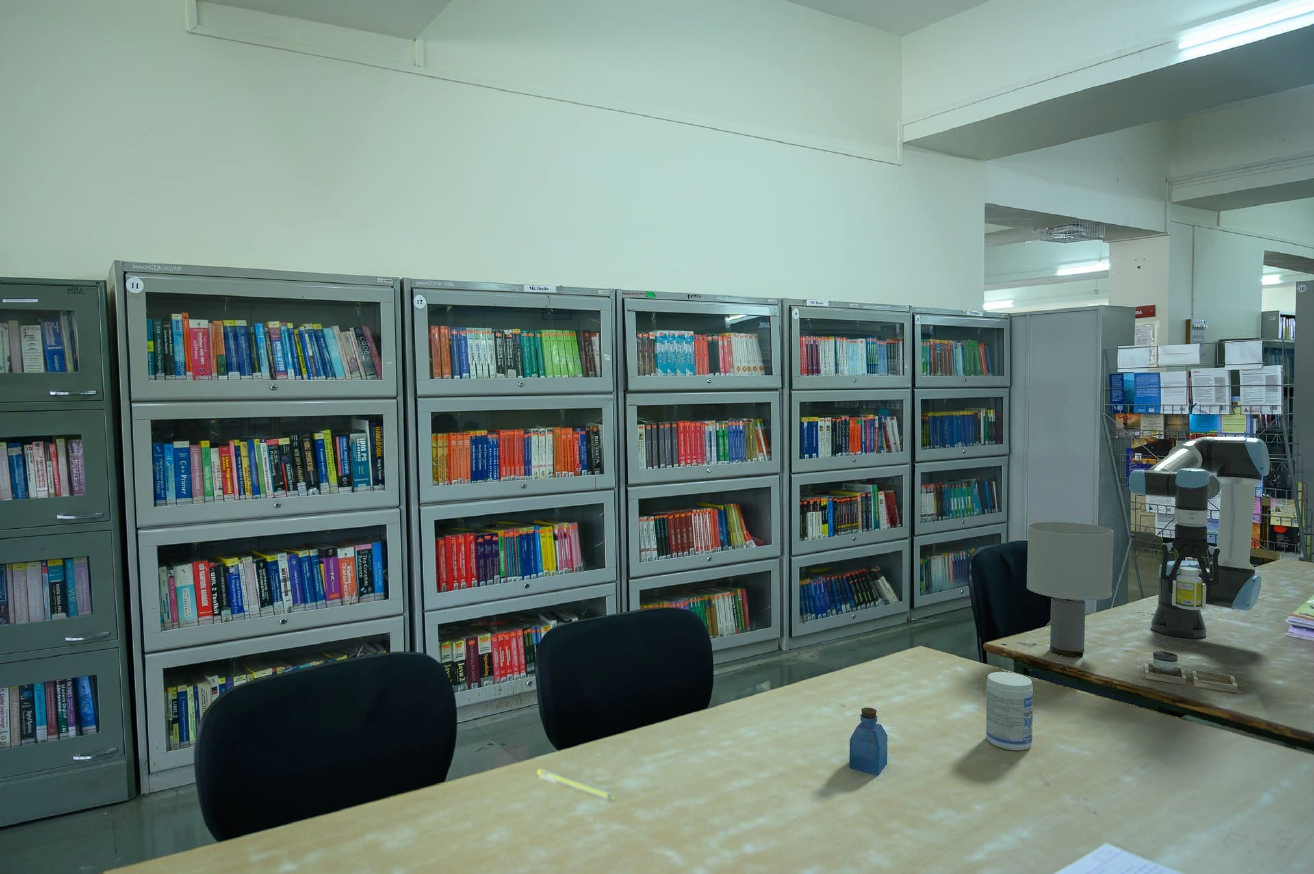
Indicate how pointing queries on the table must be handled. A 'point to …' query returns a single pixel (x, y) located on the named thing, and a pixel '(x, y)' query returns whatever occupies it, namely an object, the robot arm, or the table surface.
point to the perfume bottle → (868, 744)
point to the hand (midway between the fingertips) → (1188, 605)
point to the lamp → (1069, 576)
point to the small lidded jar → (1165, 663)
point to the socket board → (1194, 679)
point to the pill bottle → (1189, 589)
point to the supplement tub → (1009, 710)
